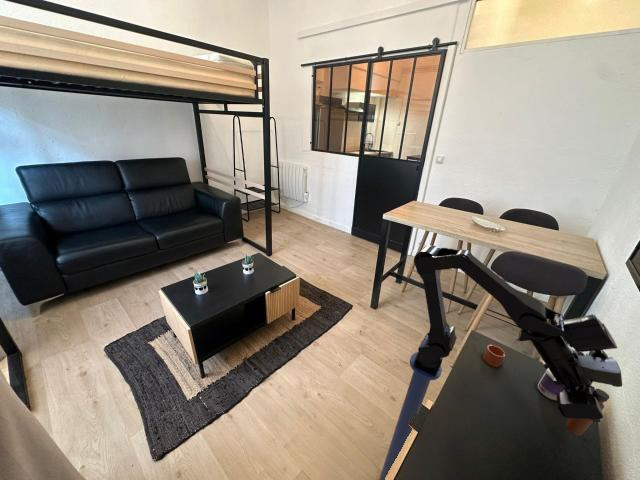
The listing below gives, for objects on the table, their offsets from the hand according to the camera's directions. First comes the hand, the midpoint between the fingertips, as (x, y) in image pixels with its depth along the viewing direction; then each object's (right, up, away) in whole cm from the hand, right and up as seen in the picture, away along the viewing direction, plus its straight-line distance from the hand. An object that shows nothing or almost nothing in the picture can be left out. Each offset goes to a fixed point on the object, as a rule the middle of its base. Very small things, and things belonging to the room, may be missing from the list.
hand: (596, 415), depth 56 cm
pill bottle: (+6, -6, +19) cm, 21 cm away
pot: (-4, -1, +28) cm, 28 cm away
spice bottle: (-2, -6, +3) cm, 7 cm away
